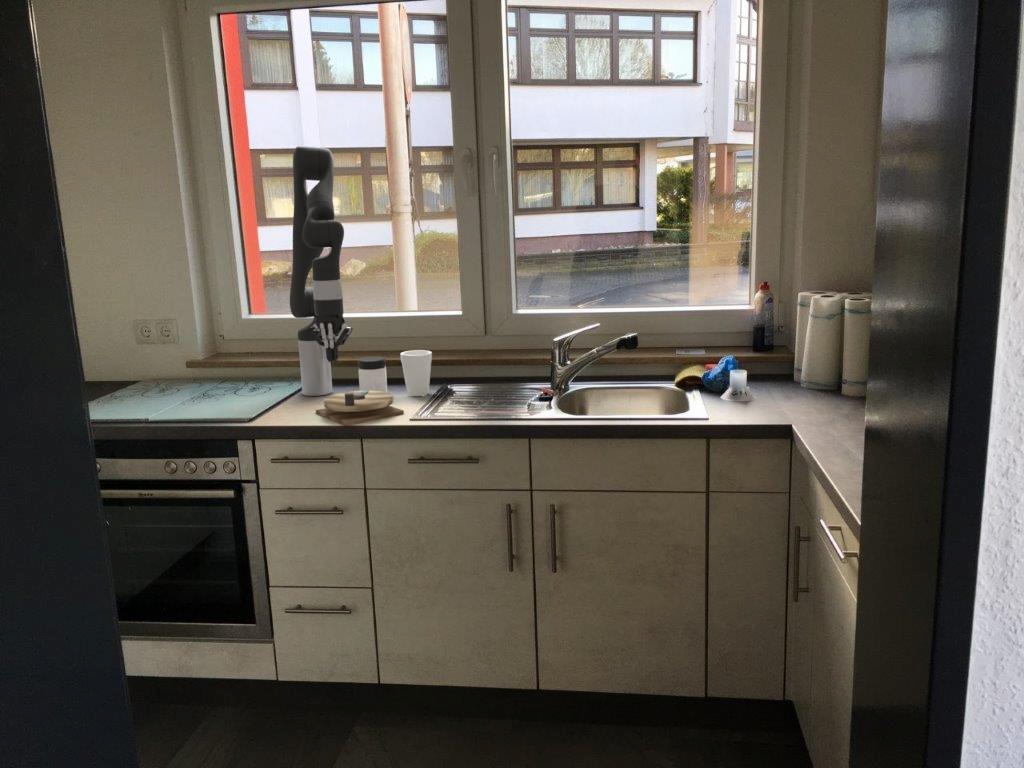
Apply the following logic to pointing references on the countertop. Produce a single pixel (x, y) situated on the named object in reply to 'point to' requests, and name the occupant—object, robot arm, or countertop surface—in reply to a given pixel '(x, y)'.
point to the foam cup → (416, 371)
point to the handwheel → (358, 401)
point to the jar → (372, 374)
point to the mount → (359, 415)
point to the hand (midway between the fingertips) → (332, 361)
